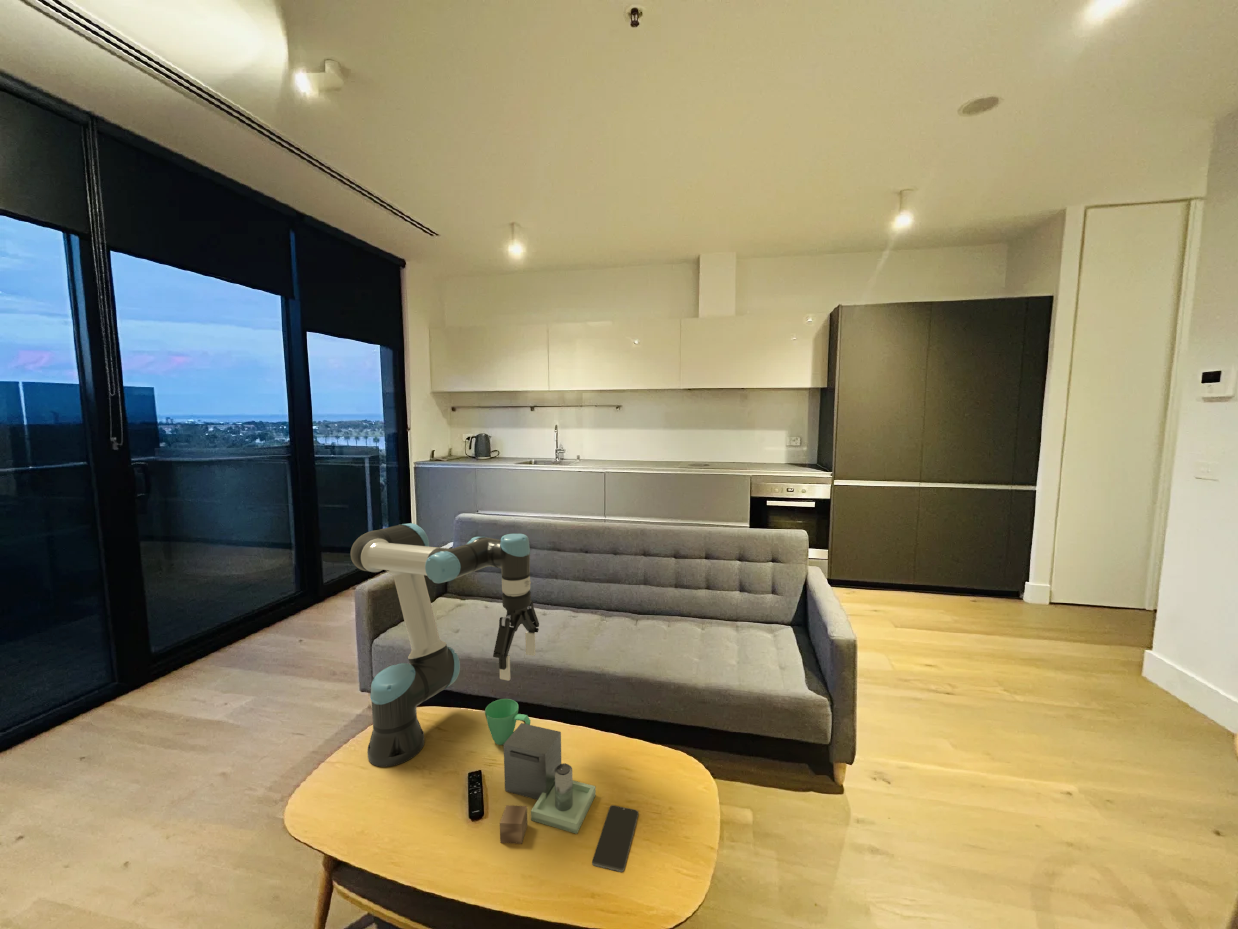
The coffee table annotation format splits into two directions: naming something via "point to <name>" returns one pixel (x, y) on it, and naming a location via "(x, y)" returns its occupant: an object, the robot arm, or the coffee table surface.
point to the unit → (531, 760)
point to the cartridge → (563, 787)
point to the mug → (503, 719)
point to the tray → (567, 819)
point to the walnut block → (513, 824)
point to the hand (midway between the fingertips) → (518, 666)
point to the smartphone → (615, 839)
